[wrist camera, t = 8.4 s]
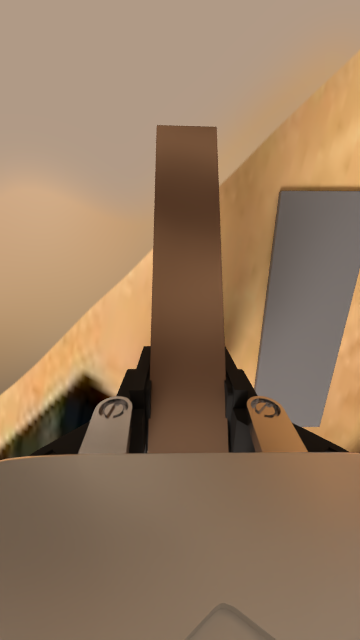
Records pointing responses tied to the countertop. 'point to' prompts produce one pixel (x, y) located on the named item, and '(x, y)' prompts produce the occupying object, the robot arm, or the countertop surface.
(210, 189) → the bar
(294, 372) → the mat
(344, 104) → the countertop surface
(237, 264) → the countertop surface
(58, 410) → the countertop surface
